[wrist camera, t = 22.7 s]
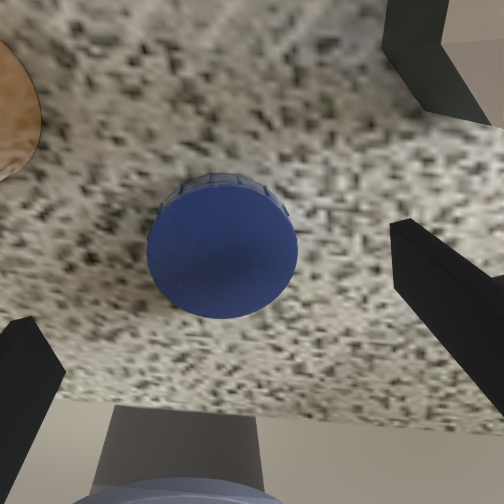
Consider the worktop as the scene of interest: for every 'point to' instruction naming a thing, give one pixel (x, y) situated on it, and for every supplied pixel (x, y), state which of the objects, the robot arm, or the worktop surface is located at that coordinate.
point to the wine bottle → (450, 55)
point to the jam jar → (16, 114)
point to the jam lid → (221, 246)
